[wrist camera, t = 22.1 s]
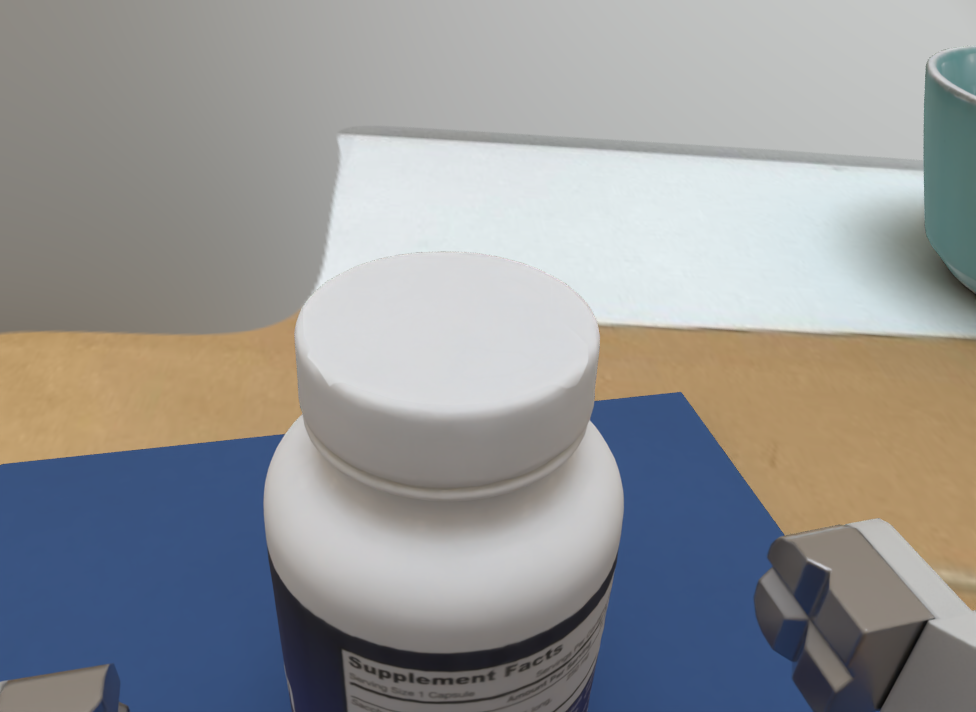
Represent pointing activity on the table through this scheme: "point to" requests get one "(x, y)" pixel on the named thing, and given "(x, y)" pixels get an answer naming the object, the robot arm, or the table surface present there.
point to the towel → (249, 590)
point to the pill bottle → (443, 493)
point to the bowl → (951, 160)
